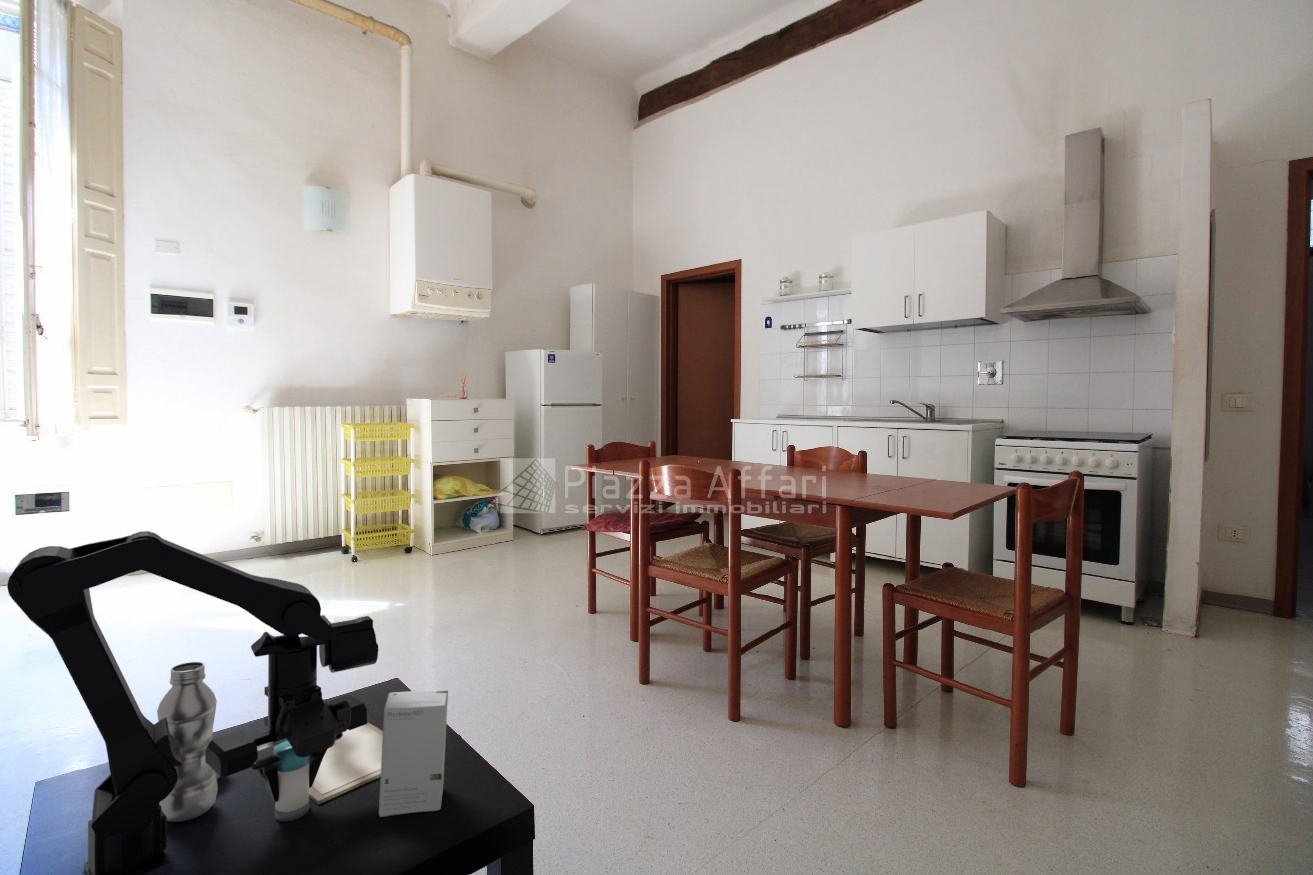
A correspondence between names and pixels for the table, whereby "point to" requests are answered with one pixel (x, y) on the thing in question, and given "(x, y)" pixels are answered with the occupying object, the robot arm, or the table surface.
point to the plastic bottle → (190, 741)
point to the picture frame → (348, 763)
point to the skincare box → (413, 752)
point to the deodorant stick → (291, 784)
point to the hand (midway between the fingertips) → (292, 793)
